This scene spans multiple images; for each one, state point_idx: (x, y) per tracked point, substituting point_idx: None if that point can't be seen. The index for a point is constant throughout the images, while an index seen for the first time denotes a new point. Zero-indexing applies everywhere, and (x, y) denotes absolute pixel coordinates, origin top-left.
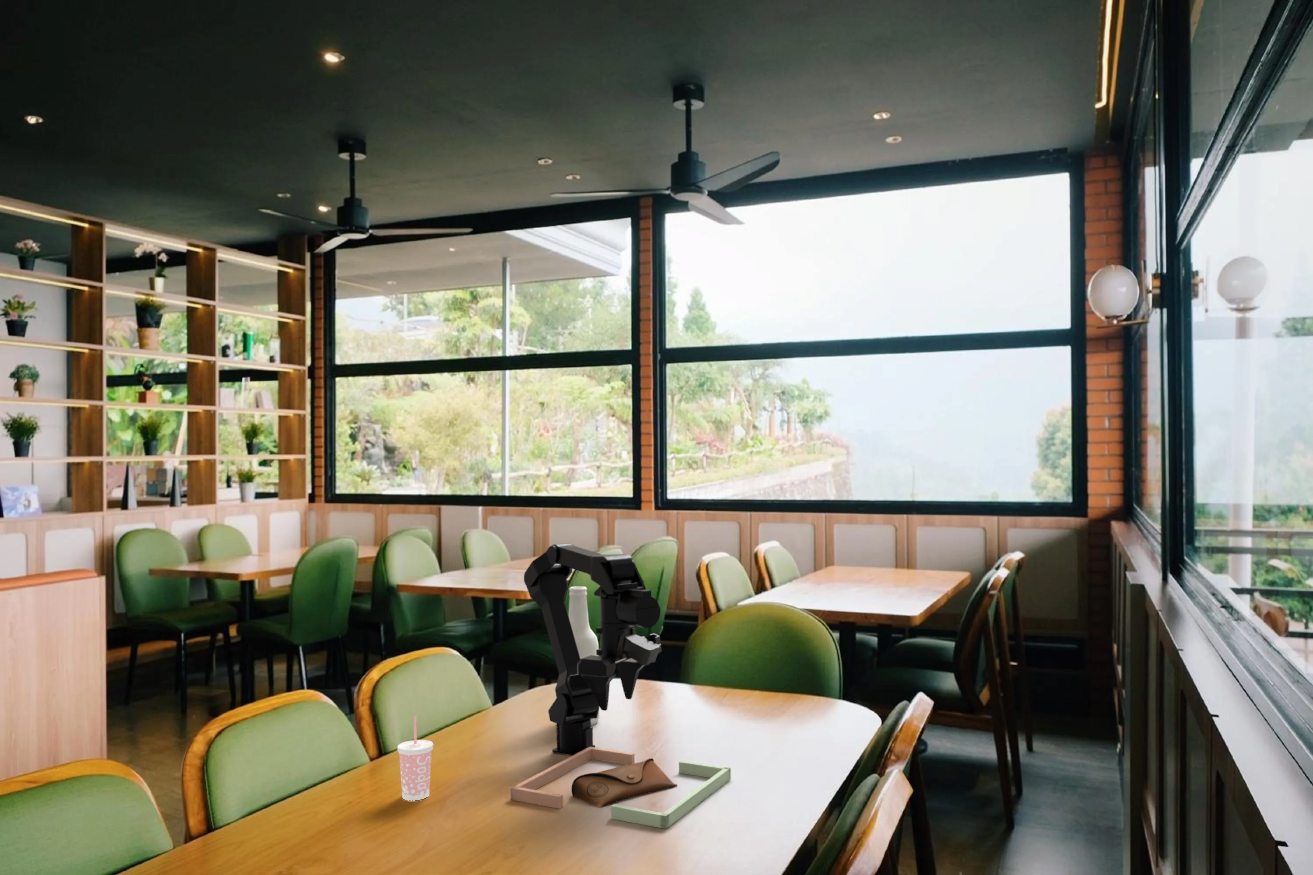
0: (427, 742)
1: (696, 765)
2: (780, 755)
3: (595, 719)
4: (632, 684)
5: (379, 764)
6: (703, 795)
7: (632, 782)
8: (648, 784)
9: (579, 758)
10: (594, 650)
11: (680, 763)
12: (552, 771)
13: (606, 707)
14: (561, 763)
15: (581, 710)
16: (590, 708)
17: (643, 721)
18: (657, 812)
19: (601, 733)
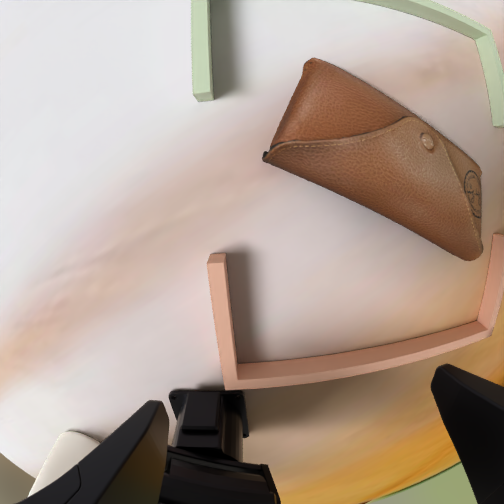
0: None
1: (208, 41)
2: (24, 24)
3: (74, 436)
4: (126, 465)
5: (378, 493)
6: None
7: (432, 130)
8: (393, 101)
9: (296, 369)
10: None
11: (210, 88)
12: (405, 351)
13: (455, 368)
14: (369, 366)
15: (236, 476)
16: (202, 470)
17: (10, 370)
18: (490, 43)
19: (95, 411)
